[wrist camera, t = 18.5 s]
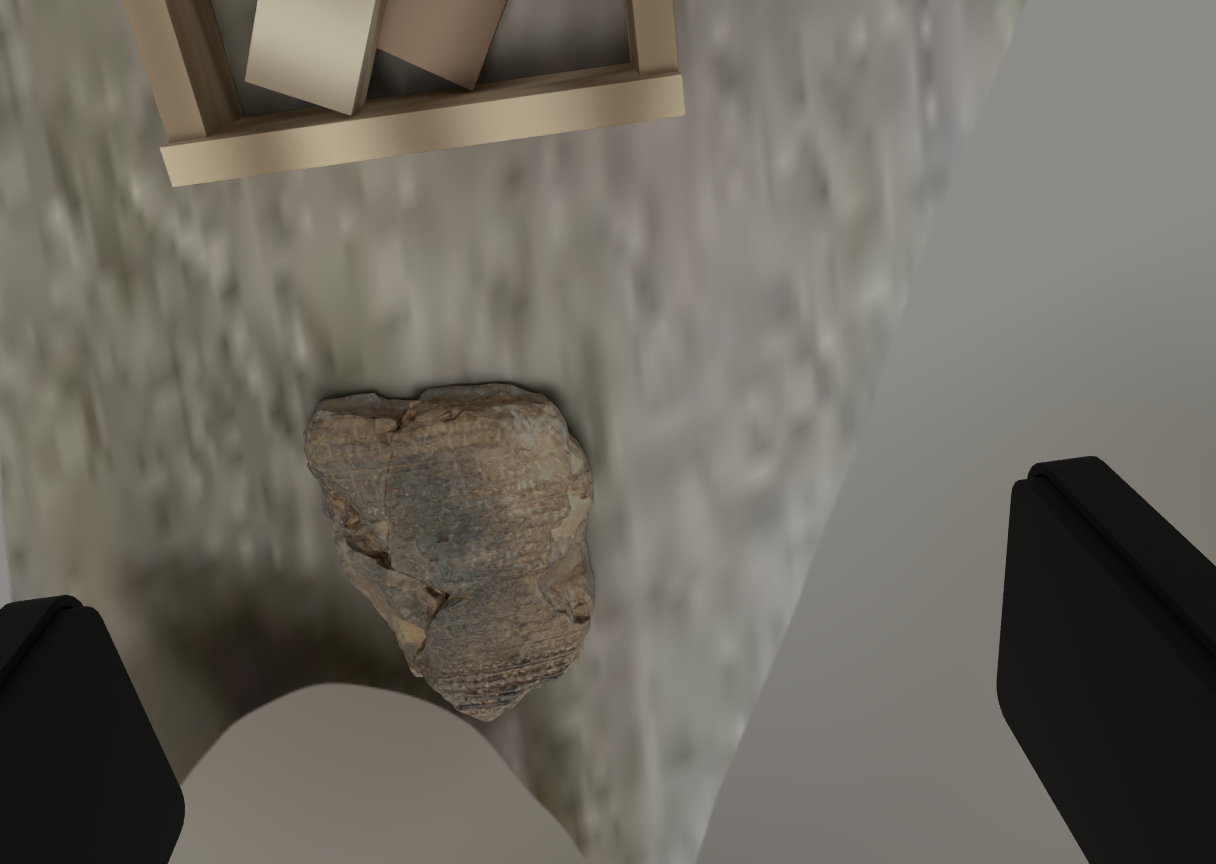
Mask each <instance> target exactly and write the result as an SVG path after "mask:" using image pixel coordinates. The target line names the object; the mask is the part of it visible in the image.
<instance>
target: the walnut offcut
mask: <svg viewBox="0 0 1216 864" xmlns="http://www.w3.org/2000/svg"><path fill="white" fill-rule="evenodd" d="M507 1H508V0H387V3H386V7H385V12H384V17H383V21H382V26H381V31H380V35H379V40H378V45H377V48H378V49H380V50H383V51H385V52H387V53H389V54H391V55H394V56H396V57H398V58H400V59H403V60H405V61H407V62H409V63H411V64H414V65H416V66H418V67H420V68H422V69H425V70H427V71H429V72H431V73H434V74H436V75H438V76H440V77H442V78H445V79H447V80H449V81H451V82H453V83H456V84H458V85H460V86H462V87H465V88H467V89H469V90H471V91H473V90H474V88H475V86H476V84H477V82H478V80H479V77H480V74H481V71H482V69H483V66H484V63H485V61H486V58H487V55H488V52H489V50H490V47H491V44H492V42H493V39H494V36H495V34H496V31H497V28H498V25H499V23H500V20H501V17H502V15H503V12H504V9H505V6H506V4H507Z"/></svg>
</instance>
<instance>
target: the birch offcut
mask: <svg viewBox="0 0 1216 864" xmlns="http://www.w3.org/2000/svg"><path fill="white" fill-rule="evenodd" d="M386 3H387V0H258V2H257V8H256V14H255V20H254V27H253V33H252V39H251V45H250V51H249V58H248V64H247V70H246V76H245V82H249V83H252V84H255V85H258V86H261V87H264V88H267V89H270V90H273V91H276V92H279V93H283V94H286V95H289V96H292V97H295V98H298V99H301V100H304V101H307V102H310V103H313V104H317V105H320V106H323V107H326V108H329V109H332V110H335V111H338V112H341V113H344V114H347V115H353V114H354V113H355V112H356V111H358V110H359V109H360V108H361V107H363V106H364V105H365V101H366V96H367V91H368V87H369V82H370V77H371V73H372V68H373V63H374V59H375V54H376V49H377V45H378V40H379V35H380V31H381V26H382V21H383V17H384V12H385V7H386Z"/></svg>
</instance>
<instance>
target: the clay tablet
mask: <svg viewBox="0 0 1216 864" xmlns="http://www.w3.org/2000/svg"><path fill="white" fill-rule="evenodd" d="M303 435H304V436H306V438H305V446H304V452H305V454H306V456H307V459H308V461H309V463H308V465H307V466H308V468H309V469H310V471H311V473H312V474H313V476H314V477H315V478H317V479H318V481H319V484H320V487H321V490H322V503H323V518H324V519H325V520H326V521H327V522H328V524H329V525H330V526H331V528H332V530H333V538H332V540H333V542H334V545H335V547H336V549H337V552H338V555H339V559H338V560H339V562H340V564H341V566H342V567H343V569H344V571H345V573H346V574H347V575H348V576H350V577H351V583H352V584H353V585H354V586H355V587H356V588H358V589H359V590H360V591H361V592H362V593H363V594H364V595H365V596H367V597H368V598H369V599H370V600H371V602H372V603H373V605H374V607H375V608H376V609H377V611H378V612H379V614H380V615H381V616H382V617H383V618H384V619H385V620H386V621H387V622H388V624H389V627H390V628H391V629H392V630H393V631H394V632H395V633H396V636H397V639H398V643H399V646H400V648H401V649H402V651H403V653H404V655H405V658H406V660H407V663H408V666H409V668H410V670H411V671H412V673H413V675H415V676H416V677H424V679H425V680H426V681H427V683H428V684H429V685H430V687H431V688H432V689H434V690H435V691H437V692H438V693H440V694H441V695H442V696H443V698H444V699H445V700H446V701H449V702H451V703H452V704H453V706H454V707H455V709H456V710H457V711H460V712H463V713H466V714H468V715H471V716H473V717H475V718H477V719H480V720H482V721H484V722H488V721H493V720H494V719H495V718H497V717H498V716H499V715H501V714H502V713H503V712H504V711H506V710H509V709H511V708H513V707H514V706H515V705H516V704H517V703H518V702H519V701H520V700H521V699H522V698H523V697H524V696H525V695H526V693H527V692H529V691H531V690H534V689H538V688H539V687H541V686H542V685H544V684H546V683H548V682H551V681H554V680H557V679H558V678H559V677H561V676H562V675H563V674H564V673H565V672H566V671H567V670H568V669H569V668H570V667H571V666H572V664H573V663H574V661H576V660H578V659H579V654H580V651H581V650H582V649H583V641H584V637H585V636H586V634H587V633H588V631H589V628H590V621H591V617H592V614H593V607H594V595H593V588H594V578H593V574H592V570H591V567H590V562H589V554H588V548H587V543H586V539H585V527H586V523H587V519H588V515H589V509H590V508H591V507H592V505H593V504H594V490H593V482H592V473H591V469H590V466H589V464H588V461H587V458H586V456H585V453H584V452H583V450H582V448H581V446H580V444H579V443H578V441H577V440H576V439H575V438H574V437H573V436H572V435H570V434H569V432H568V428H567V425H566V421H565V419H564V417H563V416H562V414H561V412H560V411H559V409H558V408H557V407H556V406H555V405H554V404H553V403H552V402H550V400H549V399H548V398H546V397H545V396H544V395H543V394H541V393H531V392H528V391H526V390H523V389H521V388H518V387H516V386H513V385H511V384H494V383H491V384H485V385H470V386H460V385H450V386H445V387H439V388H427V389H426V390H425V391H424V392H423V393H422V394H421V395H420V398H419V401H418V400H407V401H405V400H398V399H394V400H388V399H386V398H383V397H381V396H378V395H376V394H375V393H365V394H357V395H352V396H347V397H339V398H332V399H325V400H323V401H322V402H320V403H319V404H318V405H317V408H316V410H315V413H314V414H313V416H312V418H311V420H310V421H309V423H308V425H307V427H306V429H305V431H304V433H303Z"/></svg>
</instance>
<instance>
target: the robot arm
mask: <svg viewBox="0 0 1216 864" xmlns="http://www.w3.org/2000/svg"><path fill="white" fill-rule="evenodd" d="M997 695H998V700H999V705H1000V708H1001V710H1002V714H1003V716H1004V718H1005V720H1006V722H1007V724H1008V726H1009V727H1010V729H1011V731H1012V732H1013V734H1014V736H1015V737H1016V739H1017V741H1018V743H1019V744H1020V746H1021V747H1022V749H1023V751H1024V753H1025V754H1026V756H1027V758H1028V760H1029V761H1030V763H1031V764H1032V766H1033V768H1034V770H1035V771H1036V773H1037V775H1038V777H1039V778H1040V780H1041V782H1042V783H1043V785H1044V787H1045V788H1046V790H1047V792H1048V794H1049V795H1050V797H1051V799H1052V801H1053V802H1054V804H1055V805H1056V807H1057V809H1058V811H1059V812H1060V814H1061V816H1062V817H1063V819H1064V821H1065V823H1066V824H1067V826H1068V828H1069V830H1070V831H1071V833H1072V835H1073V836H1074V838H1075V840H1076V841H1077V843H1078V845H1079V847H1080V848H1081V850H1082V852H1083V853H1084V855H1085V857H1086V859H1087V860H1088V862H1089V864H1216V566H1215V565H1214V564H1213V563H1212V562H1211V561H1209V560H1208V559H1207V558H1206V557H1205V556H1204V555H1203V554H1202V553H1201V552H1200V551H1199V550H1198V549H1197V548H1196V547H1195V546H1193V545H1192V544H1191V543H1190V542H1189V541H1188V540H1187V539H1186V538H1185V537H1184V536H1183V535H1182V534H1180V532H1179V531H1177V530H1176V529H1175V528H1174V527H1173V526H1172V525H1171V524H1170V523H1169V522H1168V521H1167V520H1166V519H1165V518H1164V517H1162V516H1161V515H1160V514H1159V513H1158V512H1157V511H1156V510H1155V509H1154V508H1153V507H1152V506H1151V505H1149V504H1148V503H1147V502H1146V501H1145V500H1144V499H1143V498H1142V497H1141V496H1140V495H1139V494H1138V493H1137V492H1136V491H1134V489H1132V488H1131V487H1130V486H1129V485H1128V484H1127V483H1126V482H1125V481H1124V480H1123V479H1122V478H1121V477H1120V476H1119V475H1117V474H1116V473H1115V472H1114V471H1113V470H1112V469H1111V468H1110V467H1109V466H1108V465H1107V464H1106V463H1105V462H1103V461H1102V460H1101V459H1099V458H1098V457H1095V456H1086V457H1079V458H1071V459H1065V460H1057V461H1049V462H1042V463H1036V464H1035V465H1033V466H1032V468H1031V469H1030V471H1029V473H1028V477H1027V479H1023V480H1018V481H1017V482H1015V484H1014V486H1013V488H1012V494H1011V504H1010V518H1009V529H1008V543H1007V555H1006V568H1005V581H1004V593H1003V606H1002V618H1001V631H1000V644H999V657H998V670H997ZM184 817H185V803H184V797H183V794H182V791H181V788H180V786H179V784H178V782H177V780H176V777H175V775H174V773H173V771H172V769H171V767H170V764H169V762H168V760H167V758H166V756H165V754H164V751H163V749H162V747H161V745H160V743H159V741H158V738H157V736H156V734H155V732H154V730H153V728H152V725H151V723H150V721H149V719H148V717H147V715H146V712H145V710H144V708H143V706H142V704H141V702H140V699H139V697H138V695H137V693H136V691H135V689H134V686H133V684H132V682H131V680H130V678H129V676H128V673H127V671H126V669H125V667H124V665H123V663H122V660H121V658H120V656H119V654H118V652H117V650H116V647H115V645H114V643H113V641H112V639H111V637H110V634H109V632H108V630H107V628H106V626H105V624H104V621H103V619H102V617H101V616H100V614H99V613H98V611H96V610H95V609H94V608H93V607H88V606H86V607H84V606H83V605H82V603H81V602H80V601H79V600H77V599H76V598H75V597H73V596H69V595H62V596H54V597H47V598H39V599H32V600H25V601H17V602H12V603H9V604H6V605H5V606H4V607H3V608H1V609H0V864H168V862H169V859H170V857H171V854H172V852H173V850H174V847H175V845H176V842H177V840H178V838H179V835H180V833H181V830H182V827H183V823H184Z"/></svg>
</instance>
